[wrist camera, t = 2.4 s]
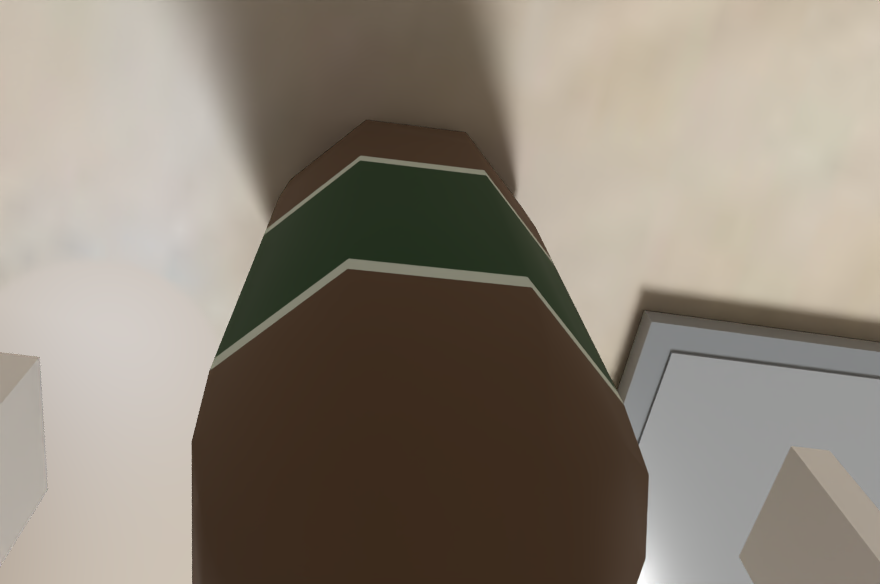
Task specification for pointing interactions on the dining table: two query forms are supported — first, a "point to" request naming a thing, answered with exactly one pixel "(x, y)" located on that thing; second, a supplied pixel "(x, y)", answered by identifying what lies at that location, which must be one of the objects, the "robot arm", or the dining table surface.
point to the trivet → (738, 430)
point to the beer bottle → (411, 391)
